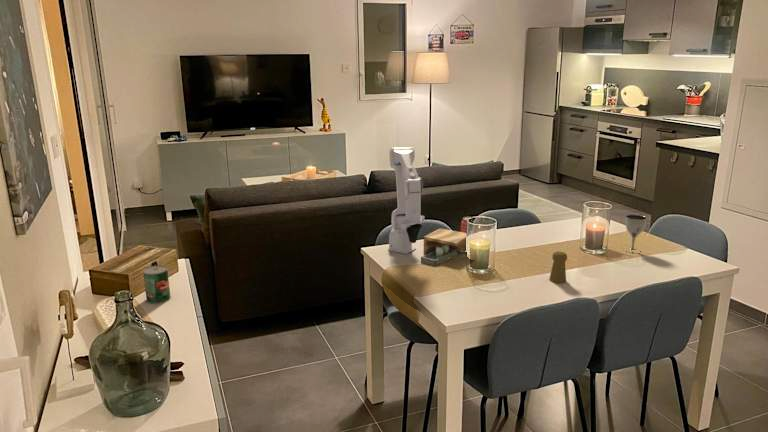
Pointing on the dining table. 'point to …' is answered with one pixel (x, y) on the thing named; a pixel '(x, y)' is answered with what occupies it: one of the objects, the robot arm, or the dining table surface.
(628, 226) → the wine glass
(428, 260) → the tray
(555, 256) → the cork
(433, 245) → the wooden box
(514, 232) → the dining table surface
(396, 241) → the robot arm
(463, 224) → the soda can
